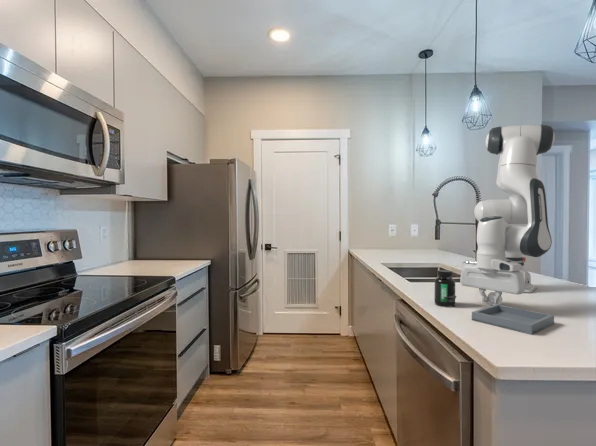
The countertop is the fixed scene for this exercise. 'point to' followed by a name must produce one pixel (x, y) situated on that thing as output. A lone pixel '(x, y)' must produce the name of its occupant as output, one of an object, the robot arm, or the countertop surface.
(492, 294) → the small white bowl
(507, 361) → the countertop surface
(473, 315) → the tray
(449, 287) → the supplement bottle
